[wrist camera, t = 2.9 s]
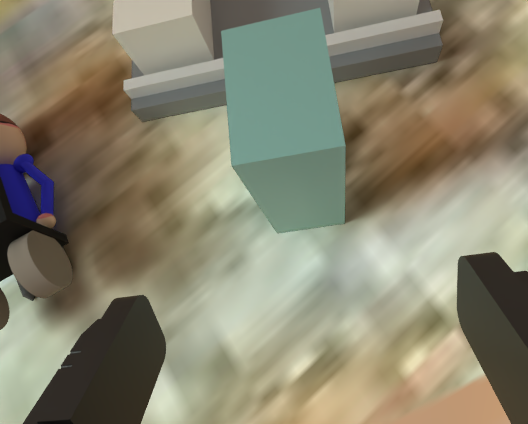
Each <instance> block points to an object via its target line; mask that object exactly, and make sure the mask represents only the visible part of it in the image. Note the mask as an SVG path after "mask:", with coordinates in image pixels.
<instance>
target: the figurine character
mask: <svg viewBox="0 0 528 424" xmlns="http://www.w3.org/2000/svg"><path fill="white" fill-rule="evenodd" d="M26 152H27V146H26V141H25V138H24V135H23V133H22V132H21V130H20V129H19V127H18V126H17V125H16V124H15V123H14V122H13V121H11V120H10V119H9V118H7V117H5V116H4V115H2V114H0V281H2V280H4V279H5V278H7V277H9V276H11V275H12V274H14V276H15V277H16V280H17V282H18V285H19V287H20V290H21V293H22V295H23V297H26V298H28V299H30V300H32V301H33V300H34V297H35V296H37V297H40V298H47V297H50V296H51V295H53V294H55V293H57V292H58V291H60V290H62V289H64V288H65V287H67V286H69V285H70V284H71V282H72V278H73V272H72V267H71V264H70V261H69V259H68V257H67V255H66V253H65V251H64V248H63V246H64V245H66V244H68V243H69V242H68V239H67V236H66V235H65V234H63V233H60V232H58V231H56V230H53V229H51V228H52V227H54V225H55V224H56V219H55V217H54V216H53V210H54V182H53V181H52V180H51V179H50V178H48V177H47V176H46V175H45V174H44V173H42V172H41V171H40V170H39V169H38V168H36V167H35V166H34V165H33V163H34V160H33V157H32V156H31V155H29V154H26ZM25 172H26V173H27V174H28V175H29V176H31V177H32V178H33V179H34V180H35V181H36V182H38V183H39V184H40V185H41V215H40V212H39V210H38V208H37V205H36V203H35V201H34V198H33V196H32V194H31V191H30V189H29V187H28V185H27V182H26V180H25V178H24V175H23V173H25ZM8 319H9V305H8V302H7V299H6V297H5V295H4V293H3V291H2V290H1V288H0V330H1V329H2V328H3V327H4V326H5V325H6V324H7V322H8Z"/></svg>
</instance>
